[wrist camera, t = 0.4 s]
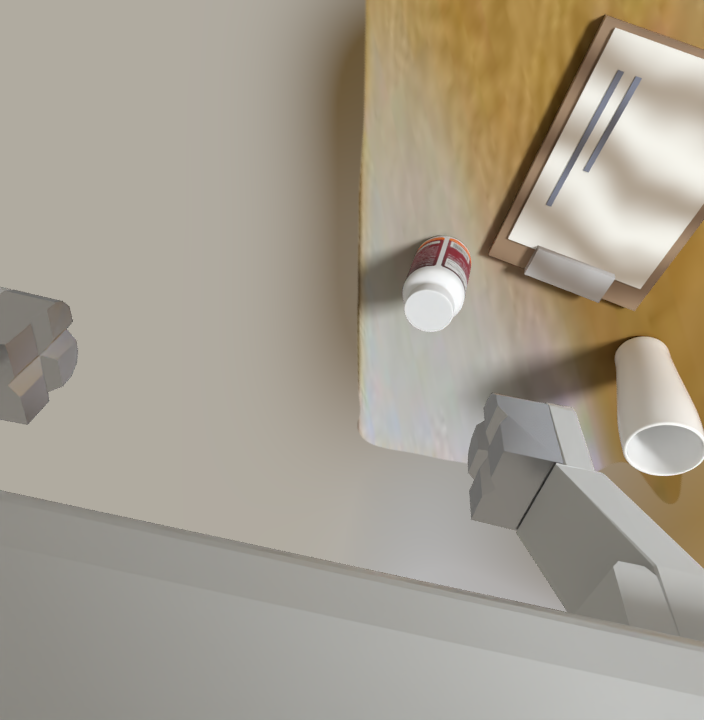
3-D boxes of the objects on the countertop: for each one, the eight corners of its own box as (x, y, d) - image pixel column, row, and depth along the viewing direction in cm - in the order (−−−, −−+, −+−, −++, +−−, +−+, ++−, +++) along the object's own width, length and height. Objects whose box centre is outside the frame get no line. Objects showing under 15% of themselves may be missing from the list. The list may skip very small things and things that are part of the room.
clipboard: (605, 14, 43) (608, 17, 41) (799, 83, 42) (810, 89, 40) (489, 250, 57) (487, 260, 55) (633, 305, 56) (636, 317, 54)
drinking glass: (611, 382, 62) (627, 479, 51) (602, 334, 59) (616, 427, 48) (678, 373, 59) (711, 474, 48) (672, 322, 56) (706, 418, 45)
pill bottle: (413, 281, 62) (393, 333, 53) (418, 230, 58) (397, 277, 49) (468, 288, 60) (456, 343, 52) (476, 237, 56) (465, 287, 48)
